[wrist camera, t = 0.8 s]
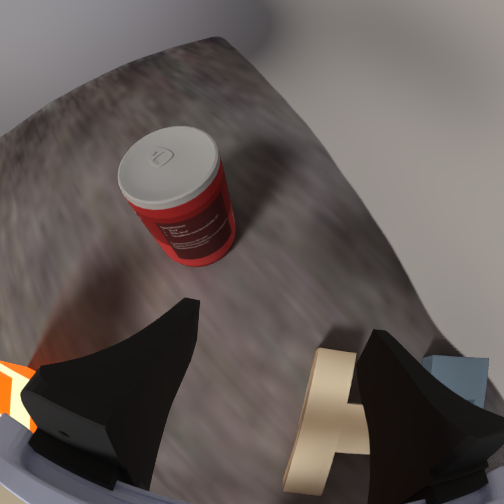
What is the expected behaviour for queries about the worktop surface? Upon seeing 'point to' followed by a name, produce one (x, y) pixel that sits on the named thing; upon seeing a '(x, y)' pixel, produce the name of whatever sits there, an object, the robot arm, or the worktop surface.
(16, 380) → the orange juice
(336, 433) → the t block
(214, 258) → the canned food
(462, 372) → the dock
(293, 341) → the worktop surface
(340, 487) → the worktop surface
